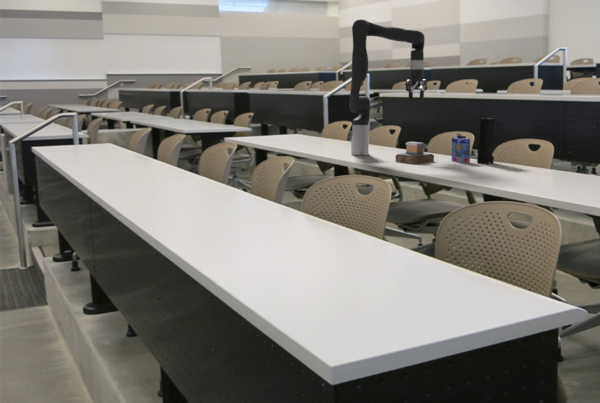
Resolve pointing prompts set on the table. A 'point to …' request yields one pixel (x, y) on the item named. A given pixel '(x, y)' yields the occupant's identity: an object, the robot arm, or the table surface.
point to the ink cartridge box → (461, 149)
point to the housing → (414, 148)
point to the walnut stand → (414, 158)
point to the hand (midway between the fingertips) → (416, 98)
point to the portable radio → (485, 140)
